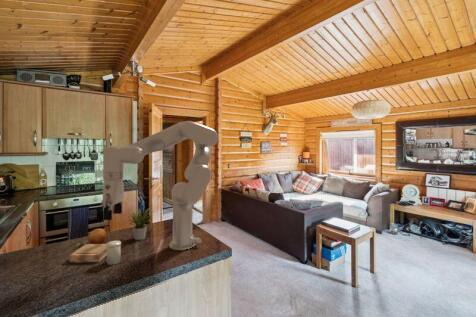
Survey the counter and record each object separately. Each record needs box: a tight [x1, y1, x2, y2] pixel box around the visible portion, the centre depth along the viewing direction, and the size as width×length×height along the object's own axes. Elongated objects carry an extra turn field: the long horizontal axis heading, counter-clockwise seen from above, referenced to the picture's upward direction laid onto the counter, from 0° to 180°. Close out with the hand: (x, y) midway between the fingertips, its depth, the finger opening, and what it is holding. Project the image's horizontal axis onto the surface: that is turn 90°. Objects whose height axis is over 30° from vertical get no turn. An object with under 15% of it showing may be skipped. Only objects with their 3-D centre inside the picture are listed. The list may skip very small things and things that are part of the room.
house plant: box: [128, 208, 155, 241], centre depth 132 cm, size 14×14×16 cm
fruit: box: [87, 228, 107, 244], centre depth 125 cm, size 8×8×8 cm
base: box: [69, 243, 107, 263], centre depth 110 cm, size 12×12×3 cm
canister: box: [105, 240, 122, 266], centre depth 104 cm, size 6×6×8 cm
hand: (113, 216), depth 104 cm, fingers open, 9 cm apart
